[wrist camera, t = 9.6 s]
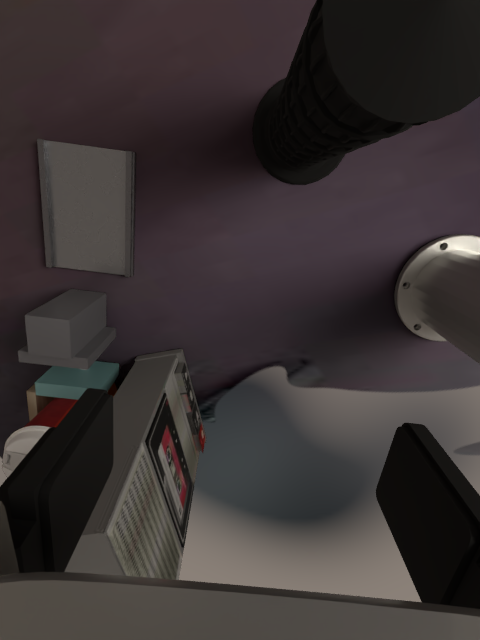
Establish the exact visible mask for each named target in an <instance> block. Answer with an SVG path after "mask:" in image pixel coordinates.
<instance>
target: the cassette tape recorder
mask: <svg viewBox="0 0 480 640" xmlns="http://www.w3.org/2000/svg"><path fill="white" fill-rule="evenodd" d="M204 443H206V434H205V430H204V427H203V423H202V419H201V416H200V412H199V408H198V404H197V401H196V397H195V393H194V390H193V386H192V382H191V379H190V375H189V371H188V368H187V364H186V360H185V357H184V353H183V349H176V350H170V351H164V352H158V353H152V354H146V355H141V356H137V357H136V359H135V363H134V365H133V367H132V368H131V370H130V371H129V373H128V375H127V376H126V378H125V379H124V381H123V382H122V384H121V386H120V387H119V389H118V390H117V392H116V394H115V395H114V397H113V454H114V461H113V467H112V471H111V474H110V476H109V478H108V480H107V482H106V484H105V486H104V489H103V491H102V493H101V495H100V497H99V499H98V501H97V503H96V506H95V508H94V510H93V512H92V514H91V516H90V518H89V520H88V523H87V525H86V527H85V529H84V531H83V533H82V535H81V537H80V540H79V542H78V544H77V546H76V548H75V550H74V552H73V554H72V557H71V559H70V561H69V563H68V565H67V567H66V569H65V571H64V572H76V573H91V574H106V575H122V576H136V577H148V578H160V579H172V580H179V575H180V568H181V562H182V556H183V550H184V544H185V539H186V532H187V526H188V520H189V514H190V508H191V501H192V495H193V490H194V483H195V477H196V470H197V464H198V458H199V452H200V451H202V452H203V449H204Z"/></svg>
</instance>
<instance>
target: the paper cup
mask: <svg viewBox="0 0 480 640" xmlns="http://www.w3.org/2000/svg"><path fill="white" fill-rule="evenodd" d="M116 392H117V388H116V385H115V383H113V385H112V386H111V388H110V389H109V391H108V395H112V396H113V397H114V395H115V394H116ZM77 401H78V400H76V399H67V398H58V397H55V398H54V399H53V400H52V401H51V402H50V403H49V404H48V405H47V406H46V407H45V408H44V409H42V410H41V411H40V412H39V413H38V414H37V415H36V416H35V417H34V418H33V419H32V420H31V421H30V422H29V423H28V424H27V425H26V426H25V427H24V428H21V429H19V430H17V431H15V432H14V433H13V434H11V435H10V437H9V438H8V439H7V441H6V443H5V447H4V454H3V461H2V462H3V465H2V469H3V472H4V473H5V475H6V477H7V478H8V477H9V476H10V474H11V473H12V472H13V471H14V470H15V468H16V467H17V466H18V465H19V463H20V462H21V461H22V460H23V459H24V457H25V456H26V455H27V454H28V453H29V451H30V450H31V449H32V448H33V446H34V445H35V444H36V443H37V442H38V440H39V439H40V438H41V437H42V436H43V434H44V433H45V432H46V431H47V430H48V429H49V428H51V427H57V426H58V425H59V423H60V422H61V421H62V419H63V418H64V417H65V416H66V414H67V413H68V412H69V411H70V409H71V408H72V407H73V406H74V404H75V403H76V402H77Z"/></svg>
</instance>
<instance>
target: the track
mask: <svg viewBox="0 0 480 640" xmlns="http://www.w3.org/2000/svg"><path fill="white" fill-rule="evenodd" d="M37 145H38V159H39V173H40V187H41V201H42V214H43V228H44V242H45V256H46V267H50V268H52V267H61V268H69V269H78V270H86V271H94V272H102V273H110V274H119V275H125V277H131V276H133V275H134V236H135V178H136V153H135V152H131V151H121V150H113V149H106V148H99V147H91V146H84V145H76V144H69V143H62V142H54V141H47V140H43V139H37Z"/></svg>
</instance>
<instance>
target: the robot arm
mask: <svg viewBox="0 0 480 640" xmlns="http://www.w3.org/2000/svg"><path fill="white" fill-rule="evenodd" d="M440 245H441V247H440ZM404 283H405V284H404ZM403 284H404V285H403ZM394 299H395V307H396V311H397V314H398V316H399V317H400V319H401V321H402V322H403V323H404V325H405V326H406V327H407V328H408V329H409V330H411V331H412V332H413V333H415V334H416V335H418V336H420V337H422V338H425V339H428V340H432V341H449V342H450V343H451V344H453V345H454V346H455V347H457V348H458V349H460V350H461V351H462V352H464V353H465V354H467V355H468V356H469V357H471V358H472V359H473V360H475V361H476V362H478V363H479V364H480V237H478V236H473V235H466V234H456V235H449V236H445V237H441V238H438V239H436V240H434V241H432V242H430V243H428V244H427V245H425V246H423V247H422V248H420V249H419V250H418V251H417V252H416V253H415V254H414V255H413V256H412V257H411V258H410V259H409V260H408V262H407V263H406V264H405V265H404V267H403V269H402V271H401V273H400V274H399V277H398V280H397V283H396V286H395V293H394ZM415 324H416V325H415ZM414 325H415V326H414ZM113 461H114V454H113V396H112V395H108V392H107V390H104V389H95V388H87V389H86V391H85V392H84V393H83V394H82V396H81V397H80V398H79V399H78V401H77V402H76V403H75V404H74V406H73V407H72V408H71V409H70V411H69V412H68V413H67V414H66V416H65V417H64V418H63V419H62V421H61V422H60V423H59V425H58V426H57V427H51V428H49V429H48V430H47V431H46V432H45V433H44V434H43V436H42V437H41V438H40V439H39V440H38V442H37V443H36V444H35V445H34V446H33V448H32V449H31V450H30V451H29V453H28V454H27V455H26V456H25V457H24V459H23V460H22V461H21V462H20V463H19V465H18V466H17V467H16V468H15V470H14V471H13V472H12V473H11V474H10V476H9V477H8V478H7V479H6V480H5V482H4V483H3V484H2V485H1V487H0V640H480V496H479V494H478V493H477V492H476V490H475V489H474V488H473V487H472V485H471V484H470V483H469V482H468V480H467V479H466V478H465V476H464V475H463V474H462V473H461V471H460V470H459V469H458V467H457V466H456V465H455V464H454V462H453V461H452V460H451V458H450V457H449V456H448V455H447V453H446V452H445V451H444V449H443V448H442V447H441V446H440V445H439V443H438V442H437V440H436V439H435V438H434V437H433V435H432V434H431V433H430V432H429V430H428V429H427V428H426V427H425V426H424V425H421V424H413V423H404V424H403V425H402V427H398V428H397V430H396V432H395V435H394V438H393V441H392V444H391V447H390V450H389V453H388V456H387V459H386V462H385V465H384V468H383V471H382V473H381V476H380V479H379V482H378V485H377V489H376V497H377V500H378V503H379V505H380V507H381V510H382V512H383V514H384V516H385V519H386V521H387V524H388V526H389V528H390V530H391V533H392V535H393V537H394V540H395V542H396V544H397V546H398V549H399V551H400V553H401V556H402V558H403V560H404V562H405V565H406V567H407V569H408V572H409V574H410V576H411V578H412V581H413V583H414V585H415V588H416V590H417V592H418V594H419V596H420V599H421V601H422V602H412V601H402V600H390V599H381V598H370V597H360V596H350V595H339V594H329V593H318V592H308V591H297V590H286V589H275V588H263V587H252V586H241V585H230V584H218V583H205V582H195V581H182V580H172V579H160V578H148V577H136V576H122V575H106V574H91V573H76V572H64V571H65V569H66V567H67V565H68V563H69V561H70V559H71V557H72V554H73V552H74V550H75V548H76V546H77V544H78V542H79V540H80V537H81V535H82V533H83V531H84V529H85V527H86V525H87V523H88V520H89V518H90V516H91V514H92V512H93V510H94V508H95V506H96V503H97V501H98V499H99V497H100V495H101V493H102V491H103V489H104V486H105V484H106V482H107V480H108V478H109V476H110V474H111V471H112V467H113Z"/></svg>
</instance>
